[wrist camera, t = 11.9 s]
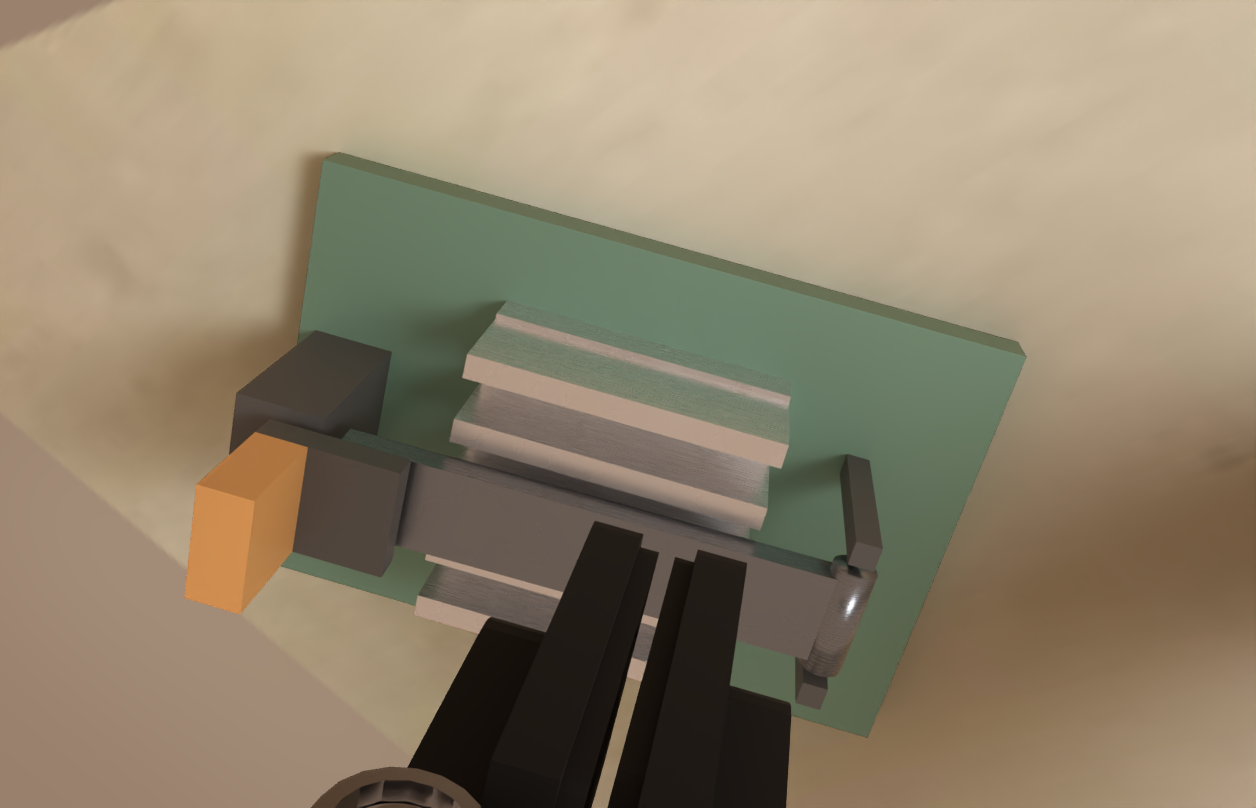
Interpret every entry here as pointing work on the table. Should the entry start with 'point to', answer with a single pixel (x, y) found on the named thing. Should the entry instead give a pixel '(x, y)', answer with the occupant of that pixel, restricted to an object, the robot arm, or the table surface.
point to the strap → (562, 518)
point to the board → (666, 314)
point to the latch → (291, 511)
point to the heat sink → (607, 444)
